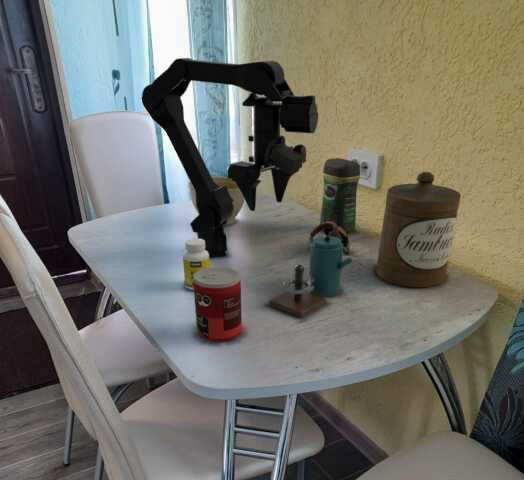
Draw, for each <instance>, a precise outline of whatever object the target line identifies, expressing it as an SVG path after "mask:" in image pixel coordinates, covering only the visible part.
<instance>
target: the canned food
mask: <svg viewBox="0 0 524 480" xmlns="http://www.w3.org/2000/svg"><path fill="white" fill-rule="evenodd" d="M241 281H242V279H241V274H240V272H239V271H237V270H236V269H233V268H230V267H225V266H212V267H211V266H210V268H205V269H202V270H199V271H197V272H196V273H195V274H194V275H193V287H194V290H193V298H194V310H195V323H196V331H197V333H198V336H199V337H200V338H201V339H203V340H205V341H207V342H211V343H227V342H231V341H233V340H235V339H236V338H238V337H239V336H240V335H241V332H242V326H243V321H242V283H241Z"/></svg>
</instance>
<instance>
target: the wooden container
mask: <svg viewBox="0 0 524 480" xmlns="http://www.w3.org/2000/svg"><path fill="white" fill-rule="evenodd" d="M416 180H417V182H416V183H402V184H395V185H393V186H390V187H388V188H387V191H386V197H385V207H384V215H383V221H382V226H381V233H380V239H379V245H378V252H377V253H378V254H377V261H376V270H375V271H376V272H375V273H376V274H377V276H379V278H380V279H382V280H384V281H385V282H388V283H390V284H394V285H397V286H402V287H408V288H429V287H433V286H436V285H439V284H441V283H442V282H443V281H444V280H445V277H446V272H447V269H448V263H449V258H450V254H451V252H452V251H451V250H452V246H453V239H454V233H455V228H456V224H457V217H458V211H459V207H460V202H461V198H462V197H461V196H462V195H461V193H460V192H459V191H457V190H455V189H453V188H450V187H447V186H442V185H437V184H433V182H434V181H435V175H434V174H433V173H432V172H430V171H422V172H421V173H419V174H418V175H417V176H416Z"/></svg>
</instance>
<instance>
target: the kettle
mask: <svg viewBox="0 0 524 480" xmlns="http://www.w3.org/2000/svg"><path fill="white" fill-rule="evenodd" d="M313 239H314V241H313V242H312V243H311V250H310V253H309V254H310V255H309V270H308V271H309V272H308V277H307V278H303V284H302V285H304V286H306V287H304V288H302V289H295V287H291V285H295V278H290V279H287V280H286V281H284V282H283V283H282V285H283V290H284V291H285V292H290V293H292V294H307V293H312V294H315V295H317V296H320V297H323V298H325V297H327V298H328V297H333V296H336V295H338V294H339V293H340V287H341V277H342V269H343V268H345V267H347V266H348V265H350V264H352V263H353V262H354V261H353V258H352V257H347V258H346V259H344V260H343V252H344V247H343V244H342V243H341V240H340V239H339V238H336V237H332V236H329V235H321V236H315V237H314V238H313Z"/></svg>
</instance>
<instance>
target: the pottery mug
mask: <svg viewBox="0 0 524 480" xmlns="http://www.w3.org/2000/svg"><path fill="white" fill-rule="evenodd" d="M323 229H324V230H323ZM321 231H323V234H324V236H326V235H329V236H332V237H336V238H339V239H340V240H341V243H342V244H343V248H345V249H346V251H347V255H350V253H351V248H350V247H351V246H350V245H351V244H350V241H349V237H348V234H346V232H345V231H344V230H343V229H342V228H341V227H339V226H336V224H335V223H334V222H333V221H330V222H325V223H322V224H320V223H319V224H318V225H317V226H314V228H313V229H312V230H311V231H310V233H309V235H310V236H309V237H308V240H309V250H310V251H311V243H312V242H313V241H314V239H315V237H316V235H317V234H318V233H320V232H321Z"/></svg>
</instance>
